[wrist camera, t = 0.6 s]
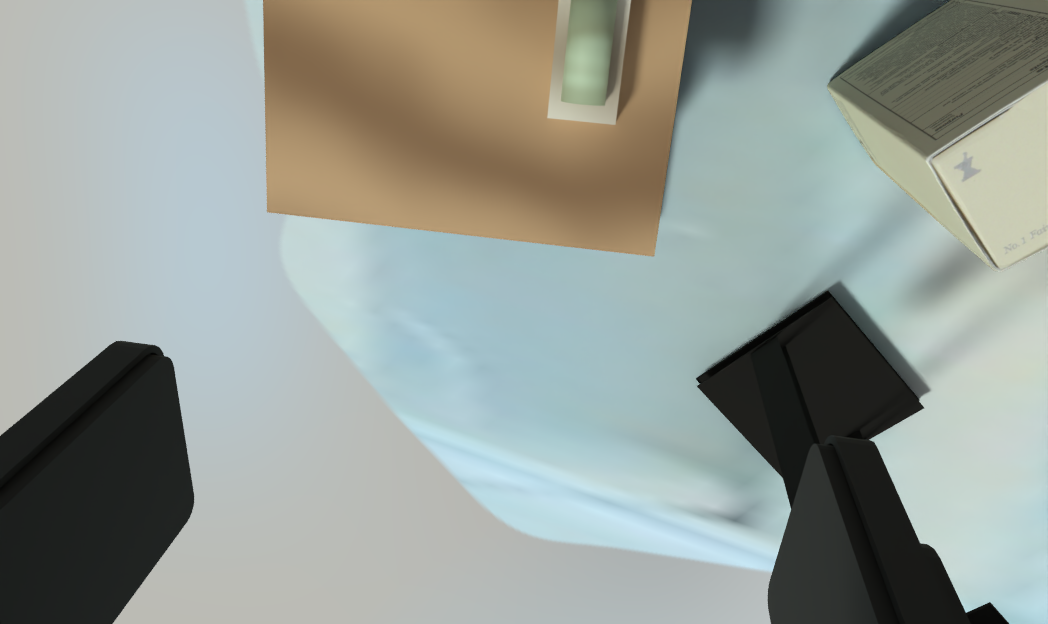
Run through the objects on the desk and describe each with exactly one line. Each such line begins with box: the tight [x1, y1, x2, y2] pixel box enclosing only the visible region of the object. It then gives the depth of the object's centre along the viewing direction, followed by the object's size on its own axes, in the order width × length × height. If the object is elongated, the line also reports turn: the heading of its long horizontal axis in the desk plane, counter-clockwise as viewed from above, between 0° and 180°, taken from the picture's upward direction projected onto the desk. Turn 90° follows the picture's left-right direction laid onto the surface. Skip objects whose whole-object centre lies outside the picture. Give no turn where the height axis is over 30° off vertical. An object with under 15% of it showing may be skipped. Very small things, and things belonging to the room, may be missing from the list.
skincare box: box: [827, 0, 1048, 272], centre depth 26 cm, size 6×4×12 cm
